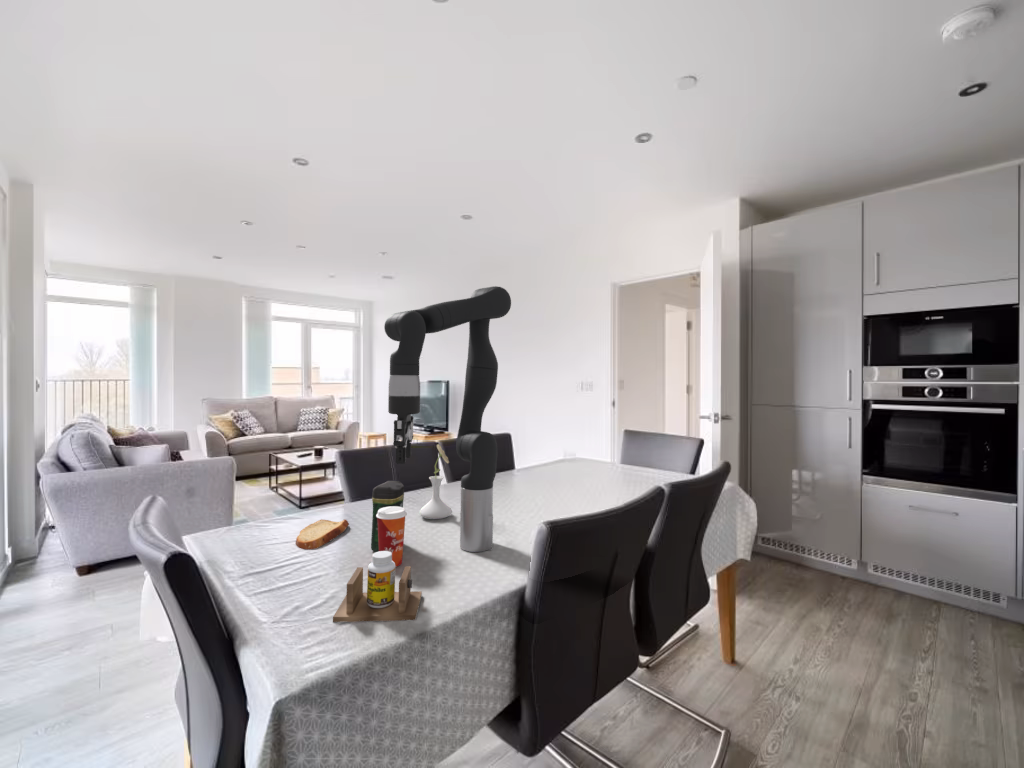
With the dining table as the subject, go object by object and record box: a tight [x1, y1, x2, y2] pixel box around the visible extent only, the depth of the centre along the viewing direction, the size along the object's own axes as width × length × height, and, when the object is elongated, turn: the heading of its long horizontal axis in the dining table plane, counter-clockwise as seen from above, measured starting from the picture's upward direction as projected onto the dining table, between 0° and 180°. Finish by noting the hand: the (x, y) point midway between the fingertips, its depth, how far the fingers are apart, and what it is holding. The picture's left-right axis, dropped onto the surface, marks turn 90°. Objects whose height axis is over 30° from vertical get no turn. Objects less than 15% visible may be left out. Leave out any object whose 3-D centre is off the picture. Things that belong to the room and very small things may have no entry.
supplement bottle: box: [366, 551, 396, 608], centre depth 94 cm, size 6×6×10 cm
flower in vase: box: [418, 443, 453, 520], centre depth 157 cm, size 13×11×25 cm
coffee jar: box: [370, 480, 405, 553], centre depth 127 cm, size 10×8×19 cm
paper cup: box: [376, 506, 408, 568], centre depth 116 cm, size 8×8×14 cm
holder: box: [332, 565, 423, 623], centre depth 94 cm, size 16×10×7 cm, turn 94°
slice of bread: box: [295, 519, 350, 550], centre depth 136 cm, size 18×18×4 cm
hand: (403, 460), depth 109 cm, fingers open, 8 cm apart
